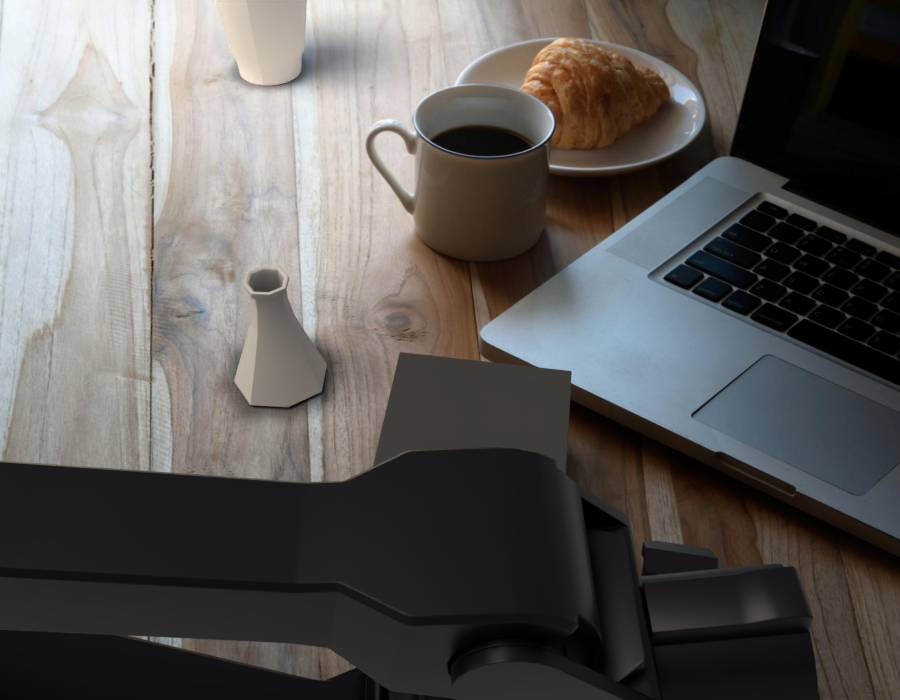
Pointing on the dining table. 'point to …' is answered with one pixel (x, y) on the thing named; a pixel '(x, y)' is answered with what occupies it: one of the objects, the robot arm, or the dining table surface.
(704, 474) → the dining table surface
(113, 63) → the dining table surface
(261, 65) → the cup
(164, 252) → the dining table surface
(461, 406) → the box
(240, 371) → the flask
